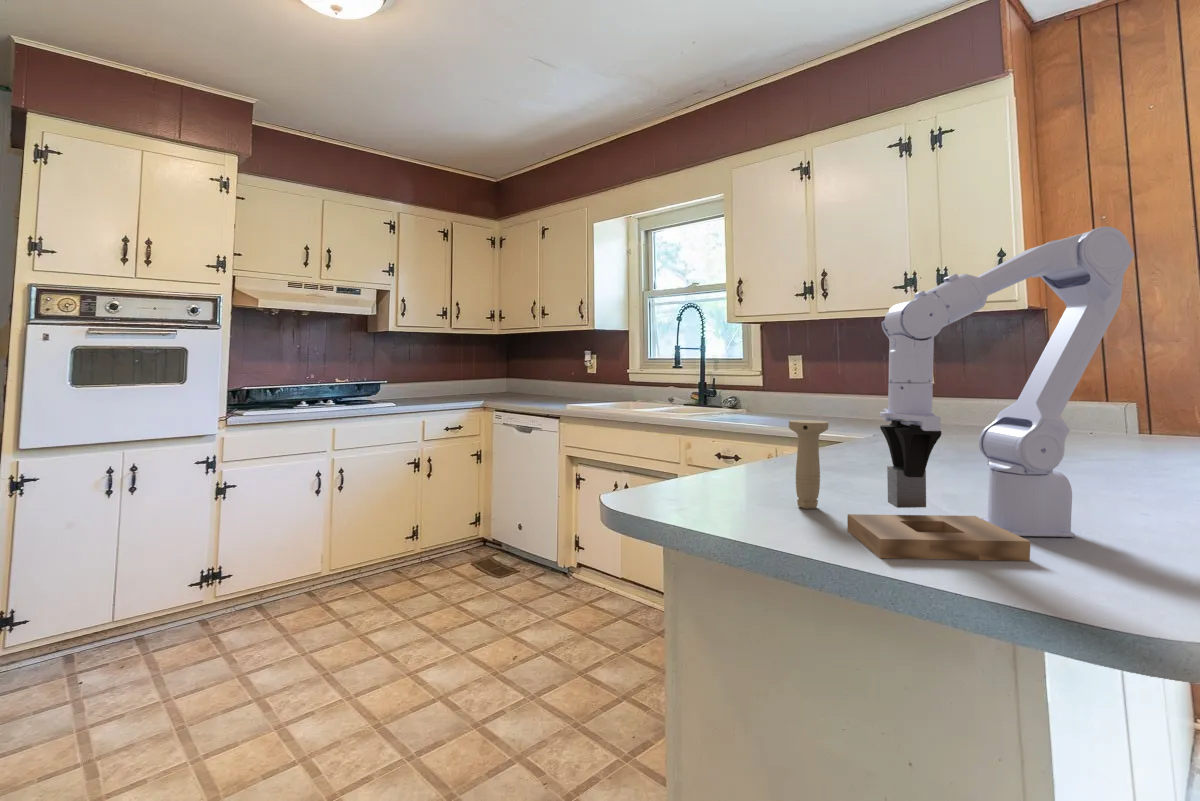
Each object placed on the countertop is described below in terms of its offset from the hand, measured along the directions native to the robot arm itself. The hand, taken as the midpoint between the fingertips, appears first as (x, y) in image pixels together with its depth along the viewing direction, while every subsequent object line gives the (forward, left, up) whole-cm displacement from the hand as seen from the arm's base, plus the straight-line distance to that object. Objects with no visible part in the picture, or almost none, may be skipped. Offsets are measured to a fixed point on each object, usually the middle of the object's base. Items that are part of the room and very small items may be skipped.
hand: (908, 474), depth 84 cm
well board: (0, +7, -8) cm, 11 cm away
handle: (+11, -13, -9) cm, 19 cm away
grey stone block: (0, 0, -5) cm, 5 cm away
